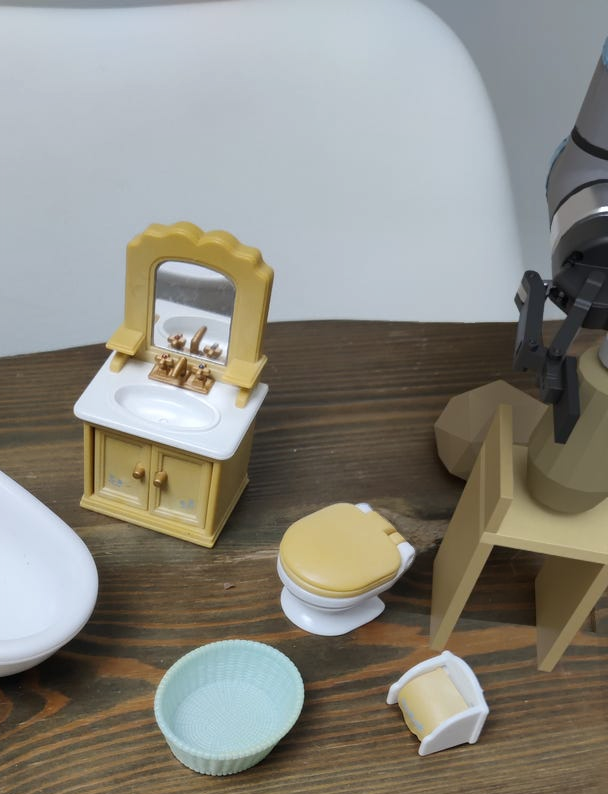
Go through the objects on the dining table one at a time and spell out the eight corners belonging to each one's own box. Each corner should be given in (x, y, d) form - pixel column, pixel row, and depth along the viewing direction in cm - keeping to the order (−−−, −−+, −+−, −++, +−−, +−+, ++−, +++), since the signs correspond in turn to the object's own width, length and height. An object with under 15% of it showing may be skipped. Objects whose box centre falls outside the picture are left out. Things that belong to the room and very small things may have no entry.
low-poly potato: (397, 475, 104) (475, 502, 95) (416, 370, 100) (500, 387, 91) (500, 474, 111) (583, 498, 101) (522, 375, 107) (611, 390, 97)
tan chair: (547, 582, 96) (637, 425, 80) (550, 672, 89) (650, 521, 73) (433, 561, 97) (500, 403, 81) (429, 649, 90) (500, 496, 74)
